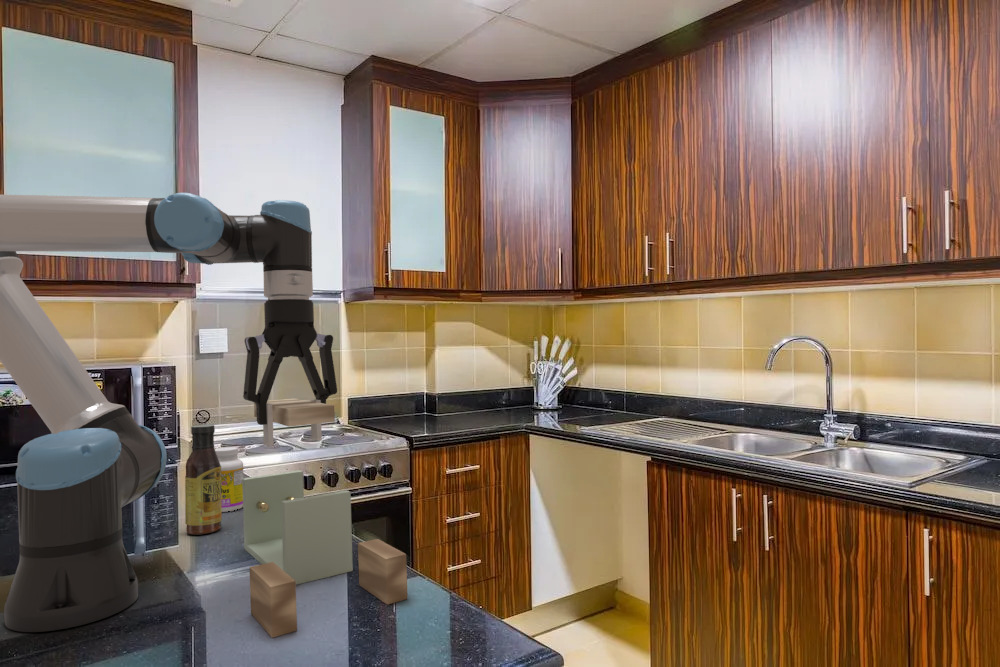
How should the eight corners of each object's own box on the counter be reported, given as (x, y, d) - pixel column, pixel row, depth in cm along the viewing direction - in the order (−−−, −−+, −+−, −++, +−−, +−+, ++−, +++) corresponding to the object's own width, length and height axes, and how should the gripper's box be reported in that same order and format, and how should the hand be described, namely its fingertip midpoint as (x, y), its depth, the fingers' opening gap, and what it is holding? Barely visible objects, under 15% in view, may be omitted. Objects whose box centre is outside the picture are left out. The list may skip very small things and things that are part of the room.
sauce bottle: (208, 536, 121) (205, 428, 121) (178, 535, 122) (175, 428, 122) (229, 526, 127) (226, 423, 127) (201, 525, 128) (198, 423, 129)
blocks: (271, 637, 78) (270, 587, 78) (250, 613, 86) (249, 567, 86) (407, 598, 89) (406, 554, 89) (378, 580, 96) (377, 538, 96)
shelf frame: (352, 570, 100) (350, 491, 101) (286, 587, 95) (284, 503, 95) (302, 537, 119) (300, 470, 119) (244, 548, 113) (242, 478, 113)
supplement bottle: (203, 512, 139) (201, 450, 139) (226, 504, 145) (224, 445, 145) (229, 513, 137) (227, 451, 137) (251, 505, 143) (249, 446, 143)
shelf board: (254, 416, 111) (253, 401, 111) (295, 412, 115) (295, 398, 115) (288, 426, 97) (288, 409, 97) (334, 421, 101) (334, 405, 101)
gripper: (229, 296, 97) (234, 453, 97) (356, 298, 109) (360, 437, 109) (217, 300, 103) (221, 447, 103) (339, 301, 115) (343, 433, 115)
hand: (293, 442), depth 106 cm, fingers closed on shelf board, 7 cm apart
